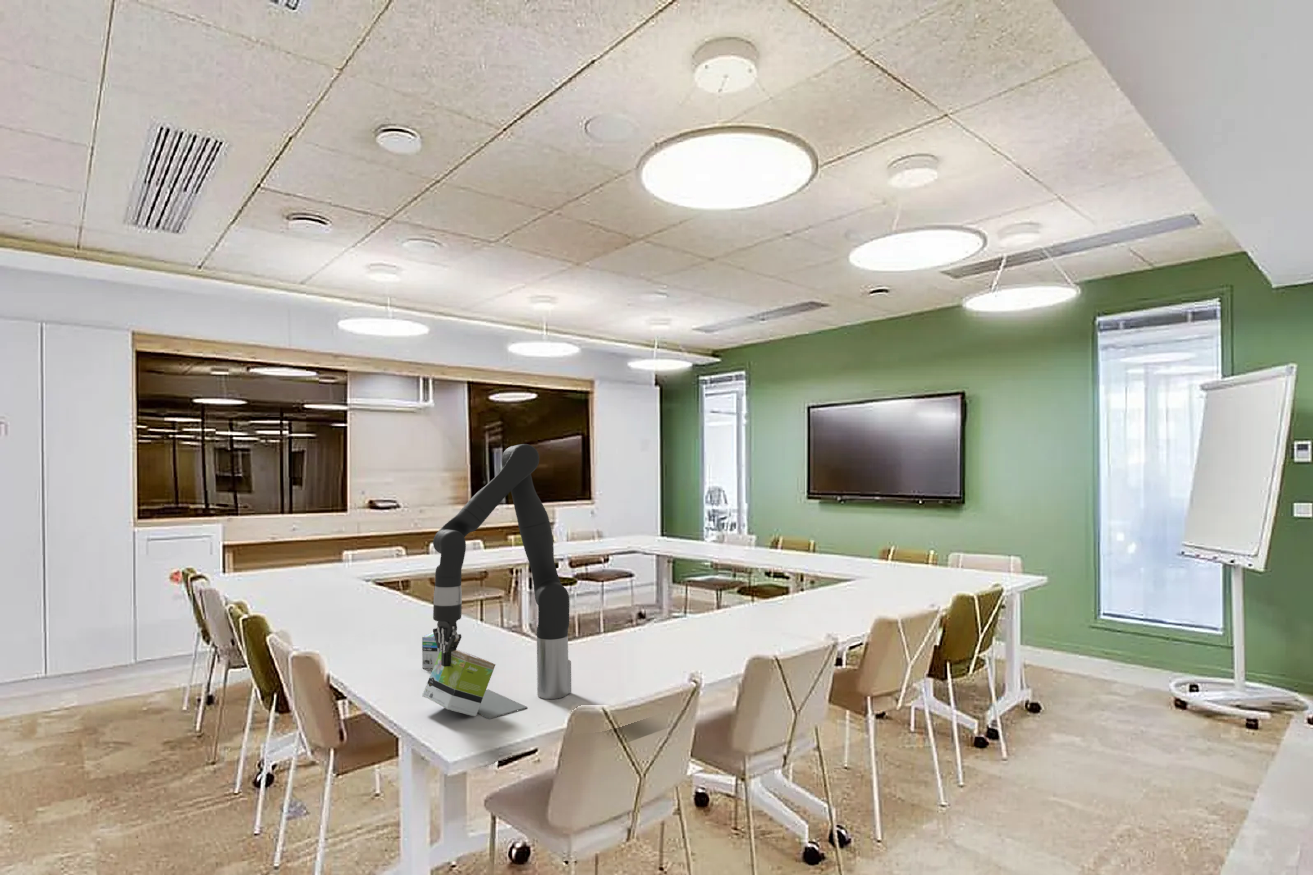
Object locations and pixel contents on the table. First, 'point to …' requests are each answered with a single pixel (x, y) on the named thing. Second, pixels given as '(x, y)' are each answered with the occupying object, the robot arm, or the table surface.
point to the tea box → (459, 682)
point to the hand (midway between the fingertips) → (446, 665)
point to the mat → (497, 705)
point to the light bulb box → (429, 651)
